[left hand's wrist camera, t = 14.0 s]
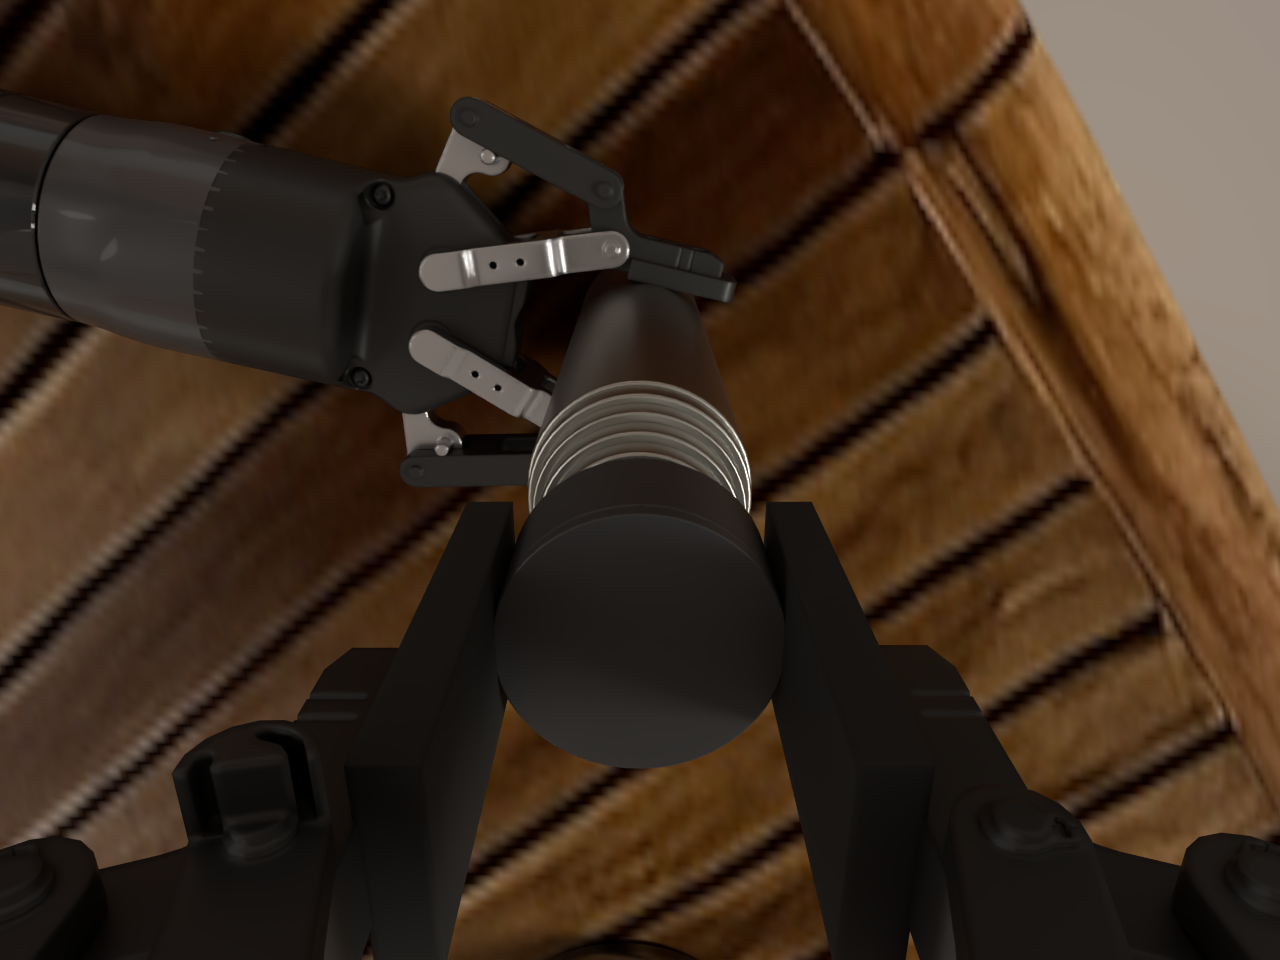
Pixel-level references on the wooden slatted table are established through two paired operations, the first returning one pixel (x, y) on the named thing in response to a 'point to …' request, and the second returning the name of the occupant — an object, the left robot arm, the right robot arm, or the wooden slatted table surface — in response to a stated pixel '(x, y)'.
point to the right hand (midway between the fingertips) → (710, 361)
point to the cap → (639, 616)
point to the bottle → (638, 392)
